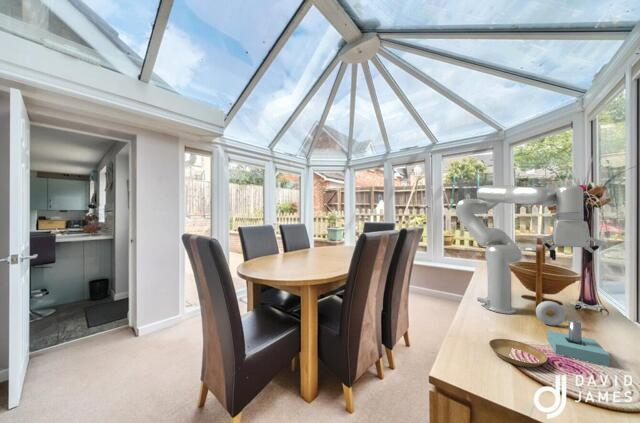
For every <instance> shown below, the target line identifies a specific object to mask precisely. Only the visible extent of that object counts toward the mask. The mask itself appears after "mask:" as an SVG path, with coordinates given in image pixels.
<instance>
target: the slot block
mask: <svg viewBox="0 0 640 423" xmlns="http://www.w3.org/2000/svg"><path fill="white" fill-rule="evenodd" d="M546 332H547V341H548V343H549V345H550V347H551V348H553V349H552V351H553V350H554V351H553V353H554V354H555V353H556V354H559V355H564V356H568V357H572V358H575V359H574V360H577V359H579V360H578V361H581V360H584V361H583V362H585V361H588V362H587V363H590V362H592V363H591V364H596V365H598V366H599V365H600V366H604V367H608V368H610V366H611V365H610V364H611V363H610V354H609V353H608V352H607V351H606V350H605V349H604V348H603V347H602V346H601V344H600V343H598V341H596V339H595V338H589V337H585V336H582V345H578V344H574V343H569V333H564V332H558V331H553V330H547V331H546ZM556 354H555V355H556ZM559 355H558V356H559ZM564 356H563V357H564ZM568 357H567V358H568ZM572 358H571V359H572Z"/></svg>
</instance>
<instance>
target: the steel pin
mask: <svg viewBox="0 0 640 423" xmlns="http://www.w3.org/2000/svg"><path fill="white" fill-rule="evenodd" d="M568 334H569V343H574V344H578V345H582V337H583V336H582V335H583V334H582V322H580V321H578V320H573V319H568Z"/></svg>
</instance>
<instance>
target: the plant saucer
mask: <svg viewBox="0 0 640 423" xmlns="http://www.w3.org/2000/svg"><path fill="white" fill-rule="evenodd" d="M488 346H489V347H490V348H491V351H493V352H494V354H496V356H497V357H499V358H501V359H502V360H504V361H506V362H507V363H510V364H512V365H516V366H519V367H524V366H525V368H536V367H538V366H541V365H543V364H546V362H547V361H548V356H547V355H546V354H545V353H544V352H543V351H542V350H540V349H538V348H536V347H534V346H533V345H530V344H528V343H525V342H521V341H519V340H513V339H507V338H494V339H491V340H489V342H488ZM512 348H513V349H518V350H521V351H524V352H526V353H528V354H531V355H533V356H535V357H536V358H537V359H538V360H539V363H534V362H533V363H530V362H527V361H526V360H523V359H522V360H523V361H519V360H515V359H512V358H511V357H510V356H509V354H510V351H511V349H512ZM524 361H525V362H524Z"/></svg>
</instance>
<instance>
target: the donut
mask: <svg viewBox="0 0 640 423" xmlns="http://www.w3.org/2000/svg"><path fill="white" fill-rule="evenodd" d="M549 310H552V311H553V312H554V315H553V316H549V315H548V314H547V311H549ZM535 315H536V317H537V319H538V320H539V321H540V322H542V323H543V324H546V325H547V326H548V325H549V326H559V325H562V324H563V323H564V322H565V320H566V318H567V312H566V310H565V309H564V307H563V306H562V305H560V304H559V303H558V302H555V301H551V300H544V301H541V302H540V303H539V304H537V306H536V308H535Z"/></svg>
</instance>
